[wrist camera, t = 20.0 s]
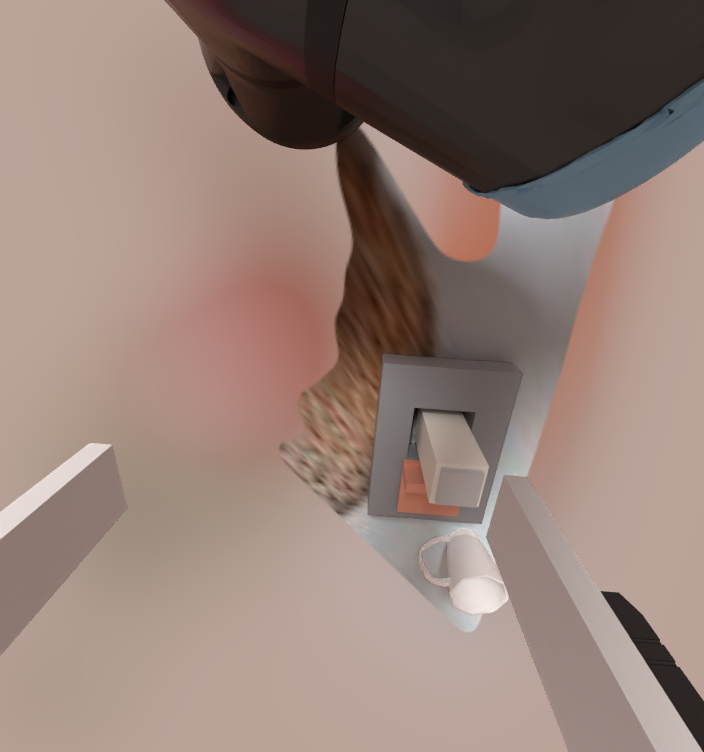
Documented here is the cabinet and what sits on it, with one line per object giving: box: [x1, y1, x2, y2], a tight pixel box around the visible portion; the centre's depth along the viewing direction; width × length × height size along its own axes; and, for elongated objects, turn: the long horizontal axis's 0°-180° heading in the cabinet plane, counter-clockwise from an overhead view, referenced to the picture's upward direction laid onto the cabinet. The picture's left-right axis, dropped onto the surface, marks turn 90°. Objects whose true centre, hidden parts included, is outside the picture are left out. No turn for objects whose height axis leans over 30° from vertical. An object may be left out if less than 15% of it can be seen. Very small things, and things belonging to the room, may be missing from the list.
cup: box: [418, 528, 508, 615], centre depth 44 cm, size 7×10×8 cm
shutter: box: [397, 459, 460, 517], centre depth 39 cm, size 7×7×4 cm
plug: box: [415, 408, 489, 508], centre depth 36 cm, size 4×4×12 cm
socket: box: [368, 354, 523, 524], centre depth 40 cm, size 20×14×3 cm
